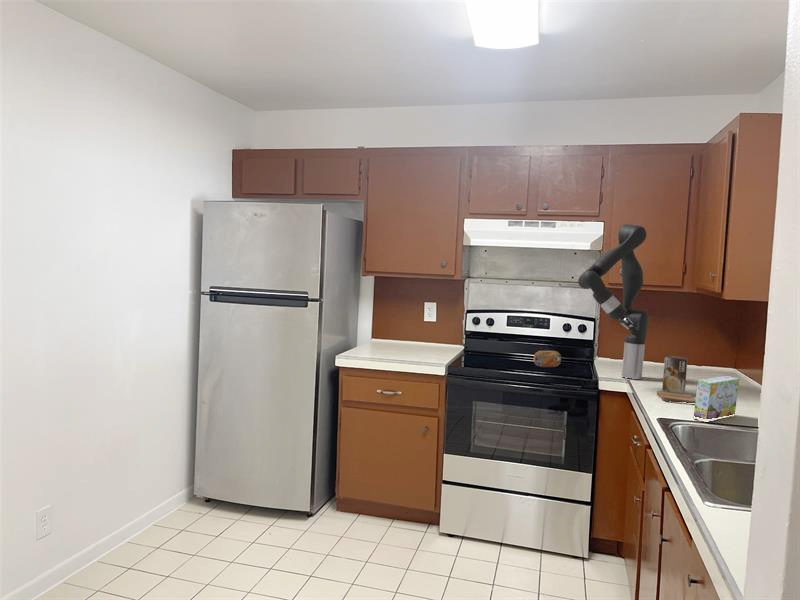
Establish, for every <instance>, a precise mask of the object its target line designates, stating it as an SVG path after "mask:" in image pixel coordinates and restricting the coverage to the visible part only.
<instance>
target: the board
mask: <svg viewBox="0 0 800 600" xmlns="http://www.w3.org/2000/svg"><path fill="white" fill-rule="evenodd" d="M656 393H657V394H656ZM656 393H655V394H656V396H657V397H658V398H659V399H660V398H661V399H662V400H663V401H671V402H670V403H672V402H686V403H695V402H696V398H694V397H693V396H692V394H690V393H687V392H685V393H677V392H666V391H662V390H656ZM662 400H661V401H662ZM663 401H662V402H663Z"/></svg>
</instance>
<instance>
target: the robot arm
mask: <svg viewBox="0 0 800 600" xmlns="http://www.w3.org/2000/svg"><path fill="white" fill-rule="evenodd" d="M617 238H618V245H617V246H615V247H614V248H611V249H609V250H607V251H606V252H604V253H603V254H602V255H601V256H600V257H599V258H597V259H596V260H595V262H594V263H593V264H592V265H590V266H589V268H587V269H586V270H585V271H584V272H583V273H581V275H579V277H578V279H577V282H578V286H579V287H580V288H581V289H583V290H585V289H587V290H588V289H591V291H592V293H593V294H592V297H593V298H594V300H595V301H596V302H597V303H598V305H600V308H602V310H603V312H605V314H607V316H608V317H609V318H610V319H611V320H612V321H617V320H619V321H618V323H620V324H621V325H622V326H623V327H624V328H625V329H627V330H628V331H629V333H630V335H626V336H625V337H624V344H623V346H624V347H623V357H622V367H621V368H622V369H621V377H622V376H623V377H627V378H632V379H631V380H633V379H641V380H642V379H643V369H644V358H645V346H646V339H647V334H648V333H647V332H648V327H649V326H648V325H649V317H650V316H649V314H648V312H647V311H646V310H642V309H641V310H639V309H633V305H634V301H635V299H636V297H637V295H638V294H639V292H640V291H641V290H642V288H643V286H644V272H643V268H642V266H641V264H640V262H639V261H638V259H637V257H636V255H635V251H634V250H635V249H637V248H638V247H639V246H641V245H642V244H643V243H644V242H645V240H646V239H647V230H646V228H645V227H643V226H641V225H636V224H627V223H626V224H623V225H621V226H620V227H619V230H618V234H617ZM619 261H621V281H622V282H621V283H622V294H623V298H622V299H623V304H622V303H621V302H620V301H619V299H618V298H617V297H615V296H614V295H613V294H612V293H611V291H610V290H609V289H608V288H607V287H606V285H605V282H604V281H603V279H602V276H604V275H606V274H607V273H609V271H610V270H611V269H612V268H613V267H614V266H615V265H616V264H617V263H618V262H619ZM623 377H622V378H623ZM627 378H626V379H627Z"/></svg>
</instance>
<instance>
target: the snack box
mask: <svg viewBox="0 0 800 600" xmlns="http://www.w3.org/2000/svg"><path fill="white" fill-rule="evenodd" d="M739 383H740V378H738V377H733V376H729V375H728V376H727V375H724V376H723V375H722V376H716V377H711V378H703V379H698V380H697V385H696V386H697V387H696V395H695V399H696V402H695V405H694V411H693V417H694V416H695V417H699V418H703V419H712V418H718V417H723V416H729V415H733V414H735V415H736V408H737V401H738V393H739V385H740V384H739Z"/></svg>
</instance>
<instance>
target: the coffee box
mask: <svg viewBox="0 0 800 600" xmlns="http://www.w3.org/2000/svg"><path fill="white" fill-rule="evenodd" d="M663 364H664V365H663V367H664V368H663V377H662V389H661V391H666V392H677V393H686V381H687V371H688V357H683V356H676V355H668V354H666V355H665V357H664V363H663Z"/></svg>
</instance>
